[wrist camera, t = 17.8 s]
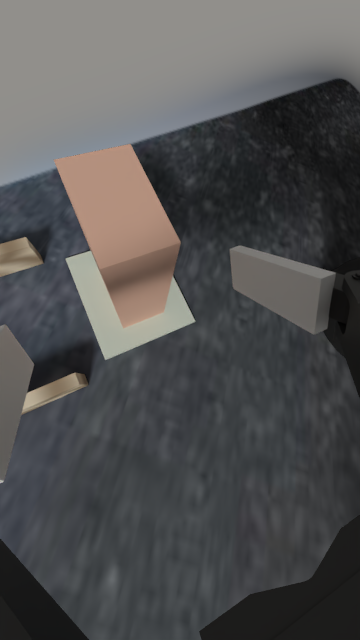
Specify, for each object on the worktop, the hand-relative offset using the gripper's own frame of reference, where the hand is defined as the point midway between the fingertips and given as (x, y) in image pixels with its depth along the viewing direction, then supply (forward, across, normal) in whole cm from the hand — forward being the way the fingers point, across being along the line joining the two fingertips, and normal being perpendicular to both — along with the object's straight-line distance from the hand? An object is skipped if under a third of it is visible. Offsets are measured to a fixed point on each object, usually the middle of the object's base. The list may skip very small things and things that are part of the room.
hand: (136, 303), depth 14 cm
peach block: (+14, +1, -4) cm, 15 cm away
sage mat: (+14, +1, -5) cm, 15 cm away
